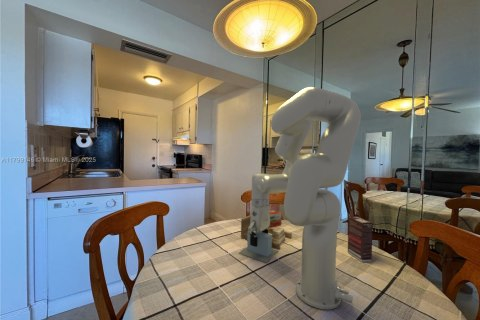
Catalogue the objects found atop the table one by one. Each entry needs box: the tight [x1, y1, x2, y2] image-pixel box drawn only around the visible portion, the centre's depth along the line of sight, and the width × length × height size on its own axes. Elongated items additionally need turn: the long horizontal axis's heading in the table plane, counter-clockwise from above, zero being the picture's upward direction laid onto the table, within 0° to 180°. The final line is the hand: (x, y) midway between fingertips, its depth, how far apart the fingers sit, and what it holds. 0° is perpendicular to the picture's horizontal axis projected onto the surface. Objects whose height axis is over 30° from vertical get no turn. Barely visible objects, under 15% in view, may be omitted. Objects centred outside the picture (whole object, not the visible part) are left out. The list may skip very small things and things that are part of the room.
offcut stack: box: [271, 226, 286, 245], centre depth 98 cm, size 4×8×6 cm, turn 146°
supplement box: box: [347, 216, 374, 263], centre depth 83 cm, size 9×5×16 cm, turn 9°
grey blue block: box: [246, 231, 273, 257], centre depth 85 cm, size 10×4×8 cm, turn 56°
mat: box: [238, 247, 279, 264], centre depth 85 cm, size 13×12×1 cm
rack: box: [240, 214, 293, 251], centre depth 101 cm, size 21×16×10 cm
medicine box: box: [269, 209, 282, 228], centre depth 121 cm, size 15×8×8 cm, turn 122°
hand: (259, 241), depth 85 cm, fingers open, 9 cm apart
